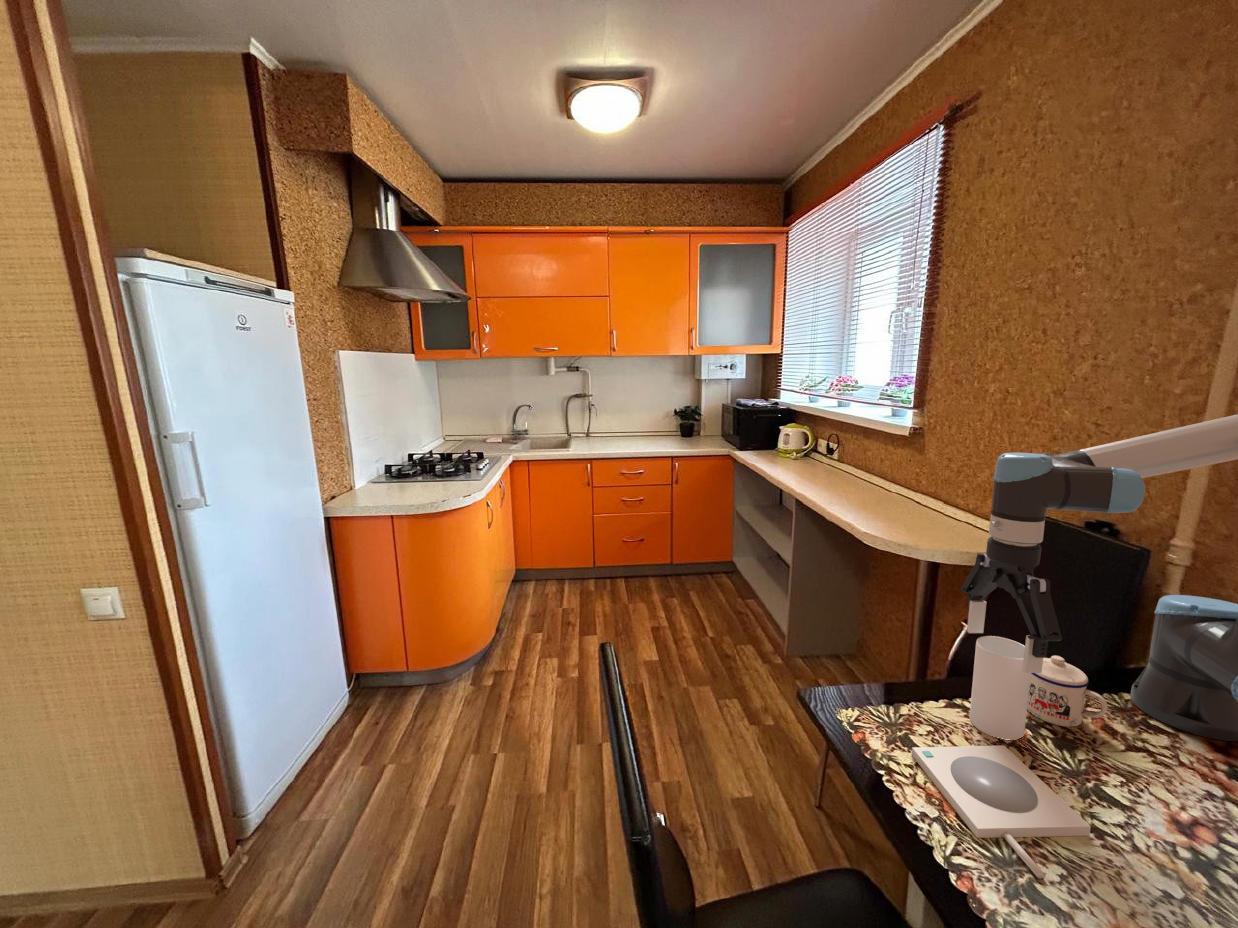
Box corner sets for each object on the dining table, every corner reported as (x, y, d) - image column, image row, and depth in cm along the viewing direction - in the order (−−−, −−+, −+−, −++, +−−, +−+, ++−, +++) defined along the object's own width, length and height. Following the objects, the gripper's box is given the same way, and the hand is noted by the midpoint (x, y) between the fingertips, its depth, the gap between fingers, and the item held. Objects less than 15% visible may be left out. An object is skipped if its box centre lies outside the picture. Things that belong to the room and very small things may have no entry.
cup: (1034, 743, 88) (1043, 660, 85) (982, 738, 90) (990, 656, 87) (1008, 713, 96) (1016, 637, 93) (961, 709, 97) (967, 634, 95)
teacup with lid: (1013, 708, 97) (1019, 654, 95) (1032, 692, 102) (1037, 640, 100) (1095, 744, 87) (1103, 684, 85) (1111, 725, 92) (1119, 667, 90)
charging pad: (1003, 752, 86) (1004, 744, 86) (1132, 876, 64) (1134, 865, 64) (911, 754, 86) (912, 746, 86) (1009, 879, 64) (1010, 868, 64)
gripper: (947, 521, 99) (937, 618, 103) (1054, 565, 75) (1037, 692, 78) (984, 520, 99) (973, 618, 103) (1103, 564, 75) (1084, 691, 78)
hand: (1001, 650), depth 90 cm, fingers open, 13 cm apart
